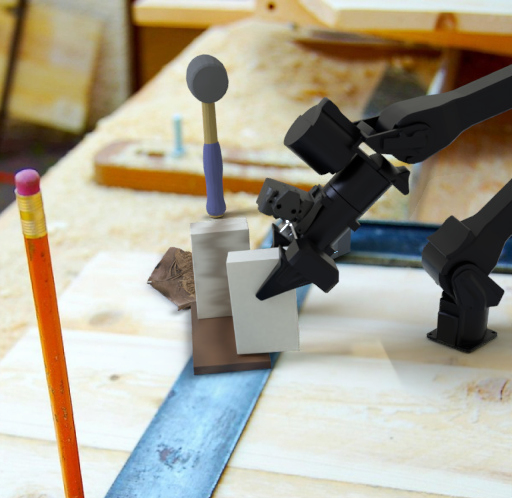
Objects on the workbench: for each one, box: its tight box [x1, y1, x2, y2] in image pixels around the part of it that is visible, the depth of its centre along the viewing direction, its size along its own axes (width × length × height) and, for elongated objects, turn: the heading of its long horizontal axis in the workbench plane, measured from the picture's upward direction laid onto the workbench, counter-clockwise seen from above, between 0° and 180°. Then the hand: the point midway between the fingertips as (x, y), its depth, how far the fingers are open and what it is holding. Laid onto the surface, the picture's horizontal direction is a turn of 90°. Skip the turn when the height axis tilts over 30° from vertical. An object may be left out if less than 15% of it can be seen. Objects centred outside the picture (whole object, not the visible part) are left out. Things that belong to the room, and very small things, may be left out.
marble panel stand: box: [189, 216, 272, 376], centre depth 104 cm, size 10×19×14 cm, turn 179°
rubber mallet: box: [185, 53, 230, 219], centre depth 145 cm, size 12×8×30 cm, turn 2°
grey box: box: [330, 229, 352, 260], centre depth 128 cm, size 6×6×9 cm
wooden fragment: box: [146, 246, 197, 312], centre depth 127 cm, size 26×11×1 cm, turn 179°
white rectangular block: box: [226, 247, 301, 354], centre depth 97 cm, size 8×4×13 cm, turn 81°
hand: (256, 291), depth 97 cm, fingers closed on white rectangular block, 4 cm apart
